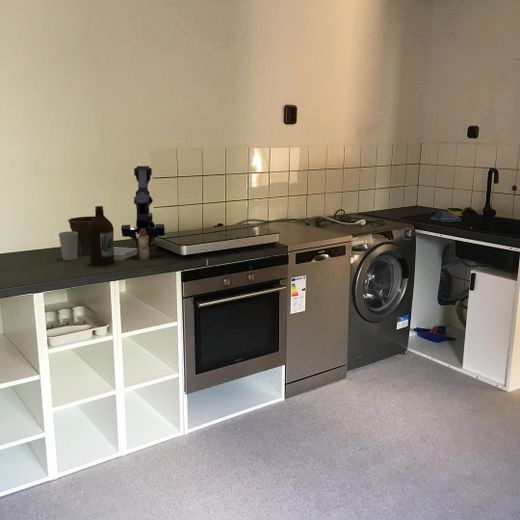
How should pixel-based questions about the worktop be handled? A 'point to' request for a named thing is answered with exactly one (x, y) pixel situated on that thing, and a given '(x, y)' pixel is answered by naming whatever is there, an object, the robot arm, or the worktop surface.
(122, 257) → the bin
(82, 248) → the plant pot
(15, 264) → the worktop surface
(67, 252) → the cup
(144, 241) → the pepper mill
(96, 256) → the olive oil
